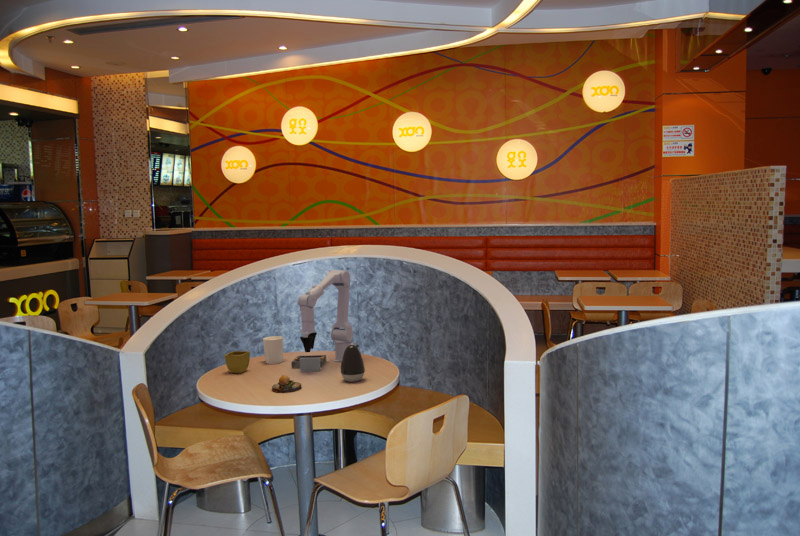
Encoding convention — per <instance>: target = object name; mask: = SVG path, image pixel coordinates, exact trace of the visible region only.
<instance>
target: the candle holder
mask: <svg viewBox="0 0 800 536" xmlns="http://www.w3.org/2000/svg"><path fill="white" fill-rule="evenodd" d="M262 344H263V350H264V359H265V360H264V361H265V364H268V365H275V364H281V363H283V362H284V336H280V335H275V336H273V335H272V336H266V337H263V338H262Z"/></svg>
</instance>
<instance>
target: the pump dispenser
mask: <svg viewBox="0 0 800 536" xmlns="http://www.w3.org/2000/svg"><path fill="white" fill-rule="evenodd" d="M359 347H360V345H359V344H356V345H355V344H354V345H349V346H347V348H346V349H345V351H344V354H343V357H342V361H341V363H340V374H341V376H342V378H343V379H344V381H346V382H350V383H357V382H359V381H361V380H362V379H363V377H364V375H365V372H366V369H365V368H366V367H365V363H364V359H363V356H362V354H361V351H360V349H359Z"/></svg>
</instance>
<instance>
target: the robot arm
mask: <svg viewBox="0 0 800 536" xmlns="http://www.w3.org/2000/svg"><path fill="white" fill-rule="evenodd" d="M330 286H334V287H336V289H337V290H338V291H337V293H338V294H337V309H336V322H335V323H334V324H333V325H332V328H331V331H330V338H331V340H332V341H333V343H334V350H335V351H334V352H335V359H334V360H333V362H335V363H337V362H342V357H343V354H344V351H345V349H346V348H347V346H349V345H355V342H354V341H352V340H353V337H354V332H353V326H352V325H351V324H350V323H349V307H350V306H349V304H350V303H349V302H350V289H351V288H350V287H351V274H350V272H349V271H348V270H347V269H345V270H338V269H337V270H334V269H332V270H328V272H327V273H326V274H325V277H324V278H323V279H322V281H320V282H319V284H313V285H312V286H311V287H310V289H309V290H307V291H306V293H304V294H301V295H300V296H299V297H298V300H297V305H298V307H299V310H300V314H301V315H300V317H301V319H300V320H301V330H299V333H301V334H302V336H300V337H299V338H300V341H301V343H302V345H303V349H304V352H305V353H311V350H312V349H314V347H315V340H316V337H317V335H318V334H317V332H316V329H315V328H316V327H315V326H316V325H315V312H314V311H315V308H314V307H315V306H316V304H317V301H318V300H319V299H320V298H321V297H322V296H323V295H324V293H325V292H324V291H325V290H326V289H327V288H328V287H330Z"/></svg>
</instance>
